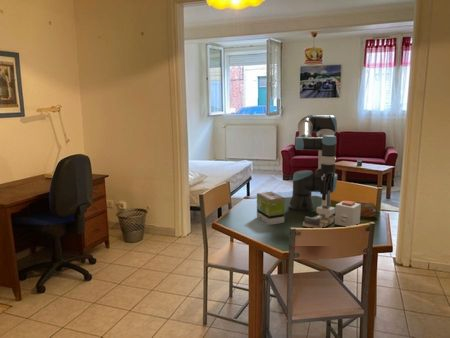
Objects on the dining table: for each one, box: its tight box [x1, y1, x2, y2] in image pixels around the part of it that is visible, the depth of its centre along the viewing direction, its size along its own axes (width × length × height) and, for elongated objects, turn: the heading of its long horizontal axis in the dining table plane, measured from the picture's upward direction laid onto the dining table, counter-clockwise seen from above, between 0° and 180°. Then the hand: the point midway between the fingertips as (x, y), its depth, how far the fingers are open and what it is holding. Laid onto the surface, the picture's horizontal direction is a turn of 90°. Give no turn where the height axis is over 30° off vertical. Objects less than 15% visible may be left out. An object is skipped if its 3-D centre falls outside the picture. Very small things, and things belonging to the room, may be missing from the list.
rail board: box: [302, 213, 335, 229], centre depth 215 cm, size 24×10×5 cm, turn 140°
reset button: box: [341, 200, 356, 206], centre depth 211 cm, size 5×5×3 cm
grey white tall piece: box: [315, 190, 336, 218], centre depth 217 cm, size 7×8×15 cm
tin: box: [354, 201, 378, 218], centre depth 226 cm, size 15×3×8 cm, turn 68°
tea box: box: [256, 191, 286, 226], centre depth 218 cm, size 15×10×15 cm
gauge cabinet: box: [334, 200, 361, 227], centre depth 212 cm, size 10×11×11 cm
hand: (326, 204), depth 217 cm, fingers open, 4 cm apart
